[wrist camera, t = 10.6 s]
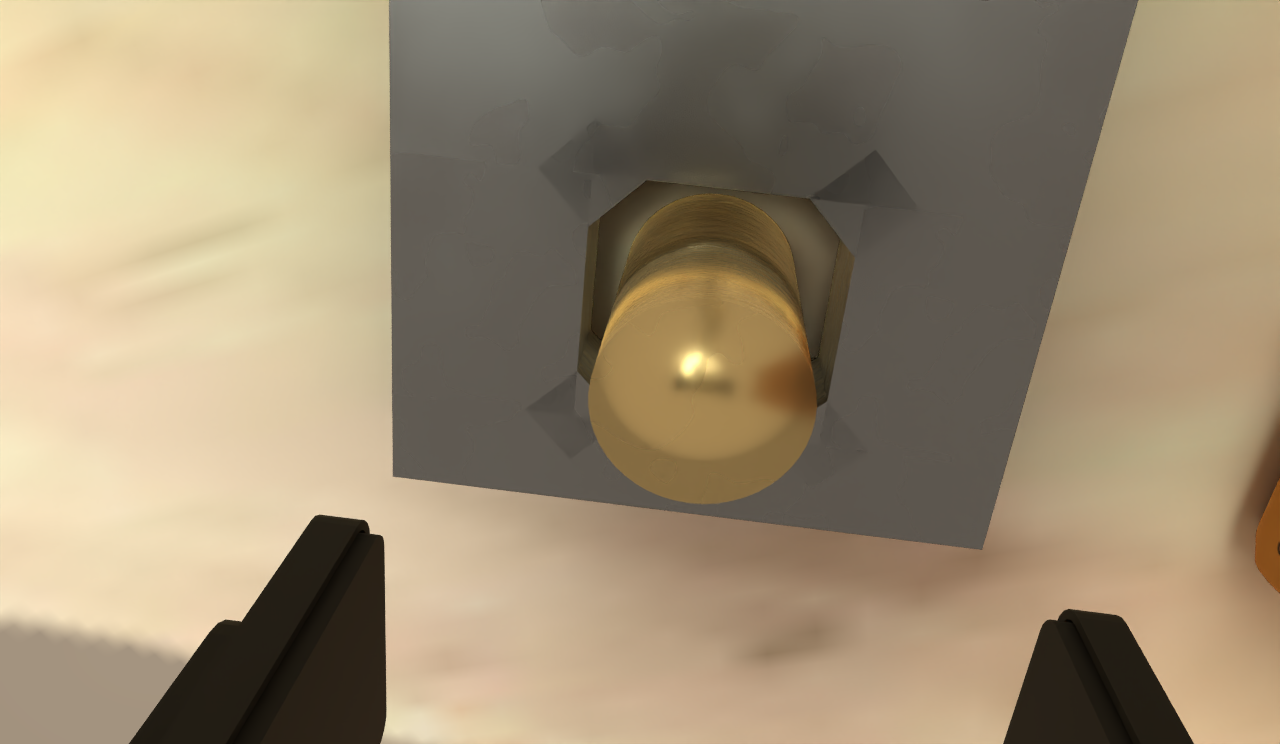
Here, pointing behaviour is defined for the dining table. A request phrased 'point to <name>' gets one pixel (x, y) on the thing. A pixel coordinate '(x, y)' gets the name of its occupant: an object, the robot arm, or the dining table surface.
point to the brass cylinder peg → (705, 356)
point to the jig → (754, 162)
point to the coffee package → (1270, 541)
